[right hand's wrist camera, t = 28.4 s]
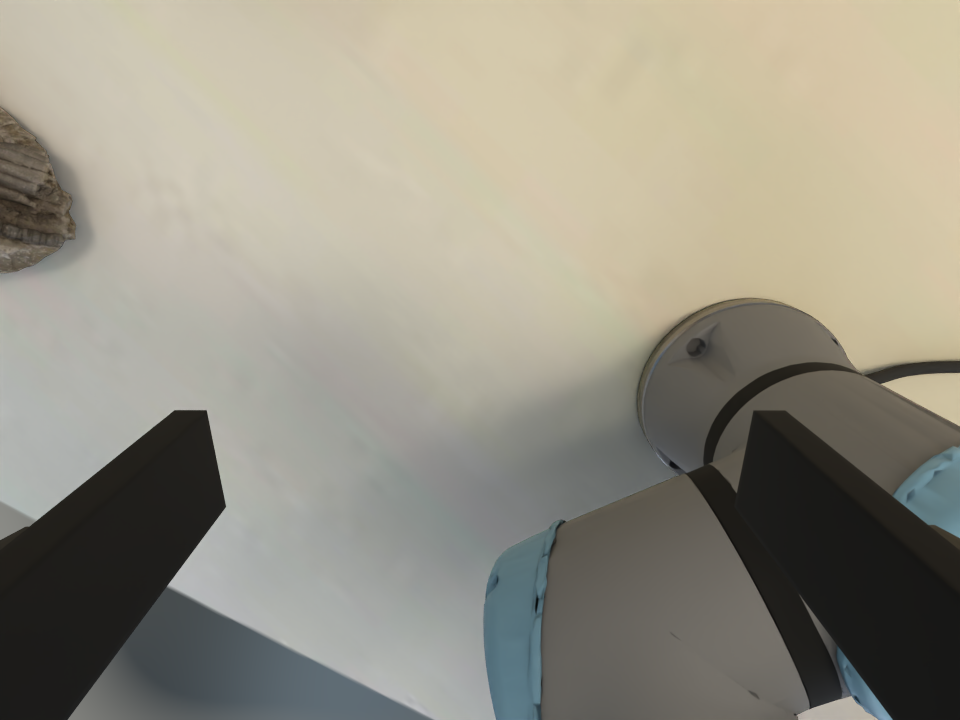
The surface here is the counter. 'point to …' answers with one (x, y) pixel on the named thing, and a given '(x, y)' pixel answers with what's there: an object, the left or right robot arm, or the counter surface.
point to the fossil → (29, 200)
